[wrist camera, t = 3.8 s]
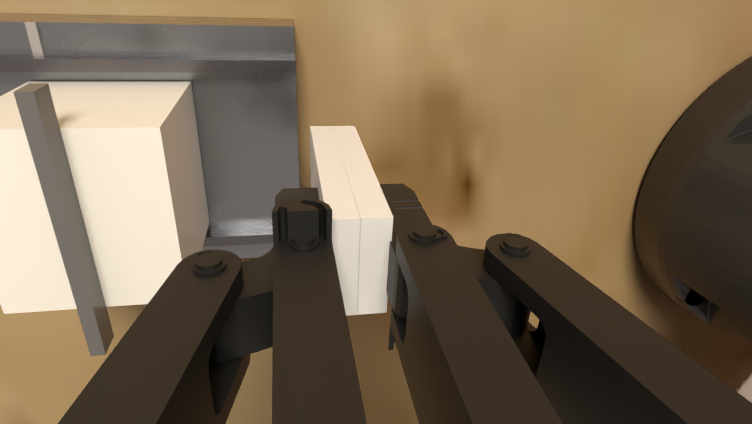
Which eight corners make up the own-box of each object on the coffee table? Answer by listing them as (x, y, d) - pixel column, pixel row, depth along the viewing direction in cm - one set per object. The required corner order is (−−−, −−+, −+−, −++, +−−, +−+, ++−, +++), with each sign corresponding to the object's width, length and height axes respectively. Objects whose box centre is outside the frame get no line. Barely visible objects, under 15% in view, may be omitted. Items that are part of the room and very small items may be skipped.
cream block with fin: (186, 47, 16) (144, 91, 11) (212, 246, 20) (189, 347, 15) (18, 46, 16) (-108, 91, 11) (76, 253, 19) (1, 363, 14)
